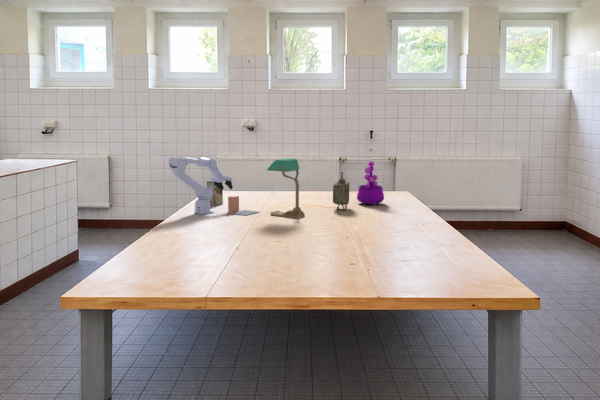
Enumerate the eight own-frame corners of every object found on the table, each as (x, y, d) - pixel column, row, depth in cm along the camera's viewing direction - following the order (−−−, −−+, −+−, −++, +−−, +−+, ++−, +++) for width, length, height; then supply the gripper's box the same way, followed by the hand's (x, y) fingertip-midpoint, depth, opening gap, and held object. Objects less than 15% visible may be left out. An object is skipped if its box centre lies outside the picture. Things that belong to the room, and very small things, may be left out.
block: (233, 212, 359) (233, 197, 358) (228, 212, 361) (228, 196, 360) (239, 211, 364) (238, 196, 363) (234, 210, 366) (233, 195, 365)
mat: (246, 215, 349) (246, 215, 349) (230, 213, 355) (230, 213, 355) (259, 212, 361) (259, 211, 361) (244, 210, 367) (244, 209, 367)
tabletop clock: (346, 211, 366) (347, 172, 362) (332, 210, 368) (332, 172, 364) (349, 207, 380) (349, 170, 376) (335, 207, 382) (336, 170, 378)
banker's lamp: (294, 219, 338) (294, 160, 332) (265, 216, 348) (265, 159, 343) (307, 215, 351) (307, 158, 346) (279, 212, 362) (279, 157, 356)
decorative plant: (376, 207, 383) (377, 162, 378) (352, 204, 393) (352, 161, 388) (388, 203, 398) (389, 160, 394) (364, 200, 408) (365, 159, 404)
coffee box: (216, 203, 396) (216, 180, 393) (223, 204, 392) (222, 181, 389) (206, 204, 389) (206, 181, 386) (213, 205, 385) (213, 182, 382)
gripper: (228, 168, 362) (238, 183, 370) (211, 169, 370) (221, 184, 378) (223, 176, 358) (233, 191, 366) (206, 177, 366) (216, 192, 374)
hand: (227, 188), depth 372 cm, fingers open, 7 cm apart
